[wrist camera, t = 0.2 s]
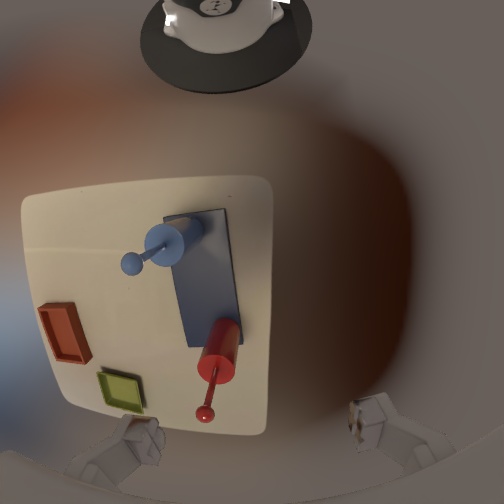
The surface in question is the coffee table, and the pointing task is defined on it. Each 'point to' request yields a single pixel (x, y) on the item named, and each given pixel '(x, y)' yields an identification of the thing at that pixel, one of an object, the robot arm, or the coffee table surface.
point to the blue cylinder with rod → (165, 244)
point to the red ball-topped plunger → (218, 361)
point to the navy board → (206, 279)
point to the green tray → (120, 392)
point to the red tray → (65, 332)
